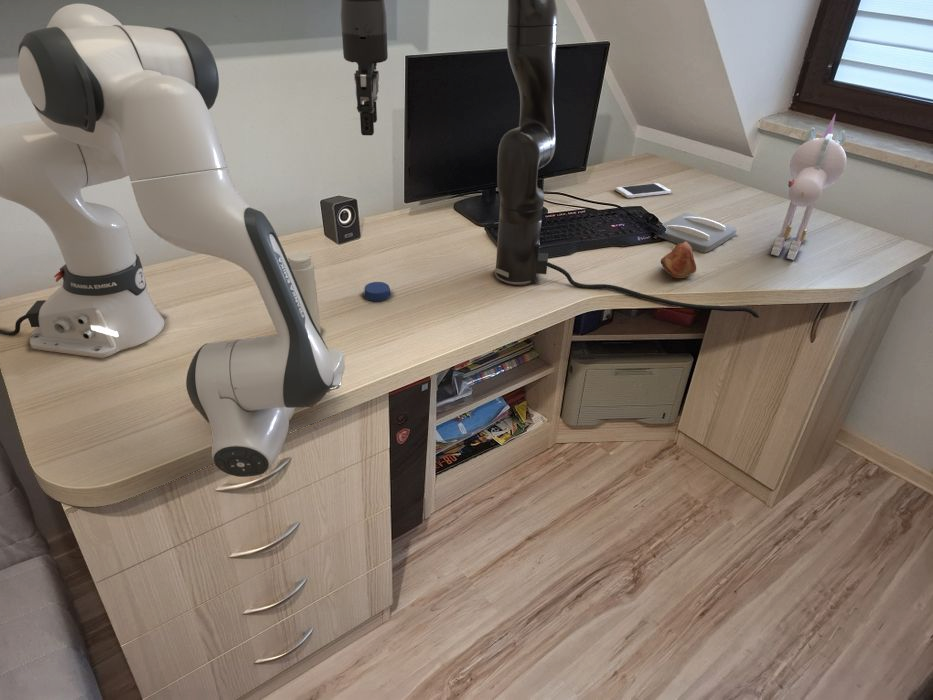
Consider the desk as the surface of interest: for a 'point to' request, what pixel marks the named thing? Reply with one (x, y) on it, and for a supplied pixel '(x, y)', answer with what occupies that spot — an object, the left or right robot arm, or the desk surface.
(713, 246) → the light switch
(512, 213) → the right robot arm
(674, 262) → the fossil
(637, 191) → the smartphone
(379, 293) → the lid
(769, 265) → the desk surface
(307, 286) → the jar
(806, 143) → the toy
